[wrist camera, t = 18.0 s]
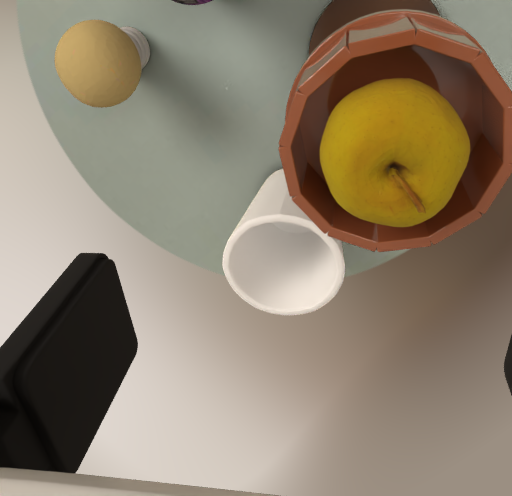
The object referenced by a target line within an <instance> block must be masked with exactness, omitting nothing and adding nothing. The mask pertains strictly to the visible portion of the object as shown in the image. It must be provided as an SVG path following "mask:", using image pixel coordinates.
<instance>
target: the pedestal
mask: <svg viewBox="0 0 512 496" xmlns="http://www.w3.org/2000/svg"><path fill="white" fill-rule="evenodd" d="M397 9H410V10H419V11H424V12H428V13H432V14H436V15H438V16H440V14H439V12H438V11H437V9H436V7H435V6H434V4H433V3H432V2H431V1H430V0H333V1H332V2H331V3H330V4H329V5H328V6H327V7H326V9H325V10H324V11H323V13H322V14H321V16H320V18H319V20H318V21H317V23H316V26H315V28H314V31H313V33H312V37H311V40H310V46H309V55H310V54H311V53H312V51H313V50H314V49H315V48H316V47H317V46H318V45H319V44H320V43H321V42H322V41H323V40H324V39H325V38H327V37H328V36H329V35H330V34H332V33H333V32H334V31H336V30H337V29H339V28H340V27H342V26H344V25H345V24H347V23H349V22H351V21H353V20H355V19H358V18H360V17H362V16H366V15H369V14H372V13H375V12H380V11H386V10H397Z"/></svg>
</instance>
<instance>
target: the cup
mask: <svg viewBox="0 0 512 496" xmlns="http://www.w3.org/2000/svg"><path fill="white" fill-rule="evenodd" d="M327 233H328V232H327ZM327 233H326V234H324V233H323V232H322V231H321V230H320V229H319V228H318V227H317V226H316V225H315V224H314V223H313V222H312V220H311V219H310V218H309V217H308V216H307V215H306V214H305V213H304V212H303V211H302V210H301V209H300V208H299V207H298V206H297V205H296V204H295V203H294V202H293V201H292V197H290V196H289V192H288V188H287V183H286V179H285V175H284V170H283V169H280V170H277V171H275V172H274V173H273V174H272V175H270V176H269V177H268V178H267V180H266V181H265V182H264V184H263V185H262V187H261V188H260V190H259V191H258V193H257V195H256V196H255V198H254V199H253V201H252V203H251V204H250V206H249V207H248V209H247V211H246V212H245V214H244V215H243V217H242V219H241V220H240V222H239V223H238V225H237V227H236V228H235V230H234V231H233V233H232V235H231V236H230V238H229V239H228V241H227V244H226V247H225V250H224V253H223V266H222V267H223V270H224V272H225V275H226V278H227V280H228V282H229V283H230V285H231V287H232V288H233V290H234V291H235V292H236V293H237V294H238V295H239V296H240V297H241V298H242V299H243V300H244V301H246V302H247V303H249V304H250V305H252V306H253V307H255V308H256V309H259V310H262V311H265V312H268V313H272V314H279V315H301V314H305V313H309V312H313V311H315V310H317V309H319V308H320V307H322V306H324V305H326V304H327V303H328V302H329V301H330V300H331V299H332V298H333V297H334V296H335V295H336V294H337V292H338V290H339V288H340V286H341V285H342V283H343V279H344V275H345V270H346V269H345V263H344V256H343V249H342V242H341V240H338V239H335V238H332V237H329V236H327Z"/></svg>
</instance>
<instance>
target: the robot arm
mask: <svg viewBox="0 0 512 496" xmlns="http://www.w3.org/2000/svg"><path fill="white" fill-rule="evenodd" d="M137 348H138V342H137V337H136V334H135V331H134V327H133V324H132V320H131V317H130V314H129V310H128V307H127V303H126V300H125V297H124V293H123V290H122V286H121V283H120V279H119V276H118V273H117V270H116V266H115V263H114V262H113V260H111V259H108V257H107V256H106V255H105V254H103V253H80V254H79V255H78V256H77V257H76V258H75V259H74V260H73V262H72V263H71V264H70V265H69V266H68V268H67V269H66V270H65V271H64V272H63V273H62V275H61V276H60V277H59V278H58V279H57V281H56V282H55V283H54V284H53V285H52V287H51V288H50V289H49V290H48V291H47V293H46V294H45V295H44V296H43V297H42V298H41V300H40V301H39V302H38V303H37V304H36V306H35V307H34V308H33V309H32V311H31V312H30V313H29V314H28V315H27V316H26V318H25V319H24V320H23V321H22V322H21V324H20V325H19V326H18V327H17V328H16V329H15V331H14V332H13V333H12V334H11V335H10V337H9V338H8V339H7V340H6V341H5V343H4V344H3V345H2V346H1V347H0V496H278V495H270V494H261V493H252V492H243V491H234V490H225V489H215V488H206V487H197V486H188V485H179V484H169V483H160V482H150V481H141V480H131V479H121V478H112V477H102V476H93V475H84V474H75V473H76V471H77V470H78V468H79V466H80V464H81V462H82V460H83V458H84V456H85V454H86V452H87V450H88V448H89V446H90V445H91V443H92V440H93V439H94V436H95V435H96V433H97V430H98V429H99V427H100V425H101V423H102V421H103V419H104V417H105V415H106V413H107V411H108V409H109V407H110V405H111V402H112V401H113V399H114V397H115V395H116V393H117V391H118V389H119V387H120V385H121V383H122V381H123V379H124V377H125V375H126V373H127V371H128V369H129V367H130V365H131V363H132V361H133V359H134V357H135V355H136V352H137ZM504 372H505V377H506V380H507V383H508V386H509V389H510V392H511V395H512V335H511V339H510V343H509V346H508V350H507V354H506V357H505V362H504Z"/></svg>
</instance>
